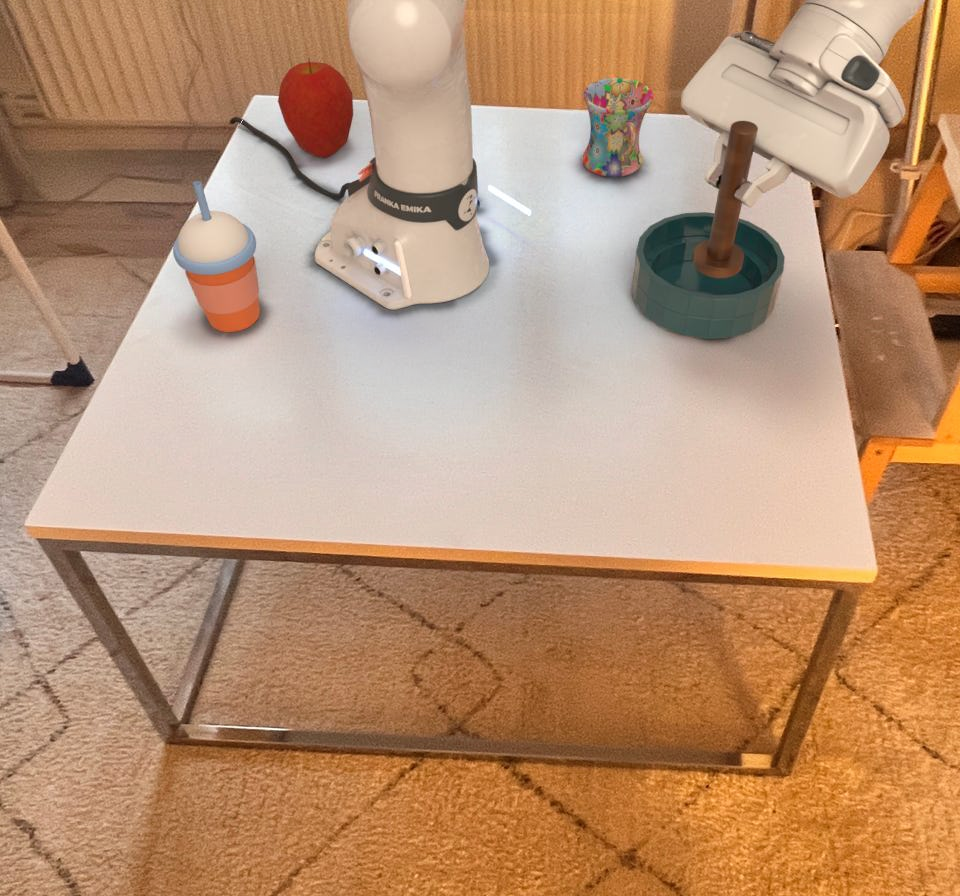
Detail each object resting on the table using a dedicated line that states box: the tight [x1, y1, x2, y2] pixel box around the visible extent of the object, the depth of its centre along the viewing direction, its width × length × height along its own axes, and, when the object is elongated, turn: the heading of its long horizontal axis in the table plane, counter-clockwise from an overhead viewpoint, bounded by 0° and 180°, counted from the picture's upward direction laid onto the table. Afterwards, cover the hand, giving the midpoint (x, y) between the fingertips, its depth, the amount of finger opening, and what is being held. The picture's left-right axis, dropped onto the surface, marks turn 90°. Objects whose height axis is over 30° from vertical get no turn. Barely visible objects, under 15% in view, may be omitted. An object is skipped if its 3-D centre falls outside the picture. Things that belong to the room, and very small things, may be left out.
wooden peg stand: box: [692, 121, 758, 278], centre depth 89 cm, size 5×5×15 cm
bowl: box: [631, 211, 786, 340], centre depth 109 cm, size 17×17×6 cm
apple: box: [277, 58, 354, 159], centre depth 131 cm, size 10×10×14 cm
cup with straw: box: [172, 180, 261, 333], centre depth 104 cm, size 9×9×18 cm
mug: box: [581, 77, 654, 178], centre depth 127 cm, size 12×9×11 cm
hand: (727, 193), depth 88 cm, fingers closed on wooden peg stand, 2 cm apart
